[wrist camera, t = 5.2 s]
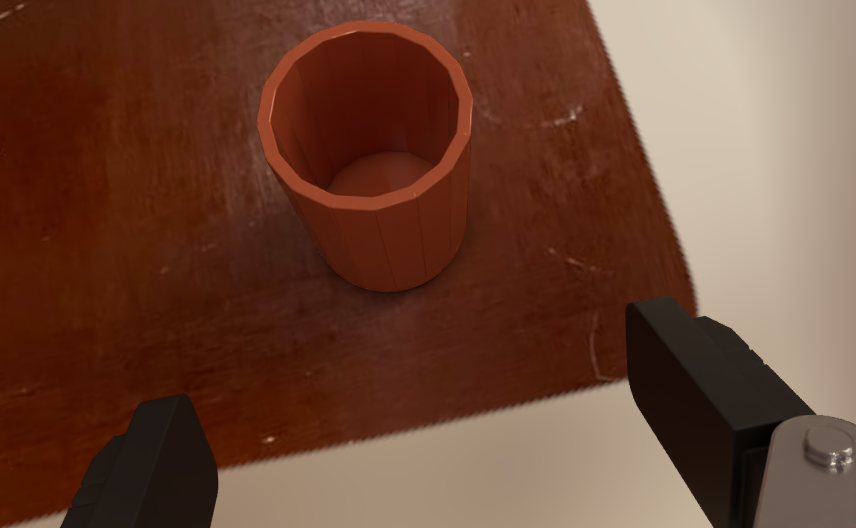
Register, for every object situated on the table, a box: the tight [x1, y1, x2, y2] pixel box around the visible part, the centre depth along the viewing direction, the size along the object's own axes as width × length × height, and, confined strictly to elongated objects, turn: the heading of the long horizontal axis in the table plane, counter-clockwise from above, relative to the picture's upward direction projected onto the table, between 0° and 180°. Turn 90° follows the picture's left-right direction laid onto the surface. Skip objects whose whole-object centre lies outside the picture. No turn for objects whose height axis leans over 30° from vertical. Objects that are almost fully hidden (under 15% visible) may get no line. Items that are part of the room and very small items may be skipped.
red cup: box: [256, 20, 473, 292], centre depth 23 cm, size 6×6×8 cm
